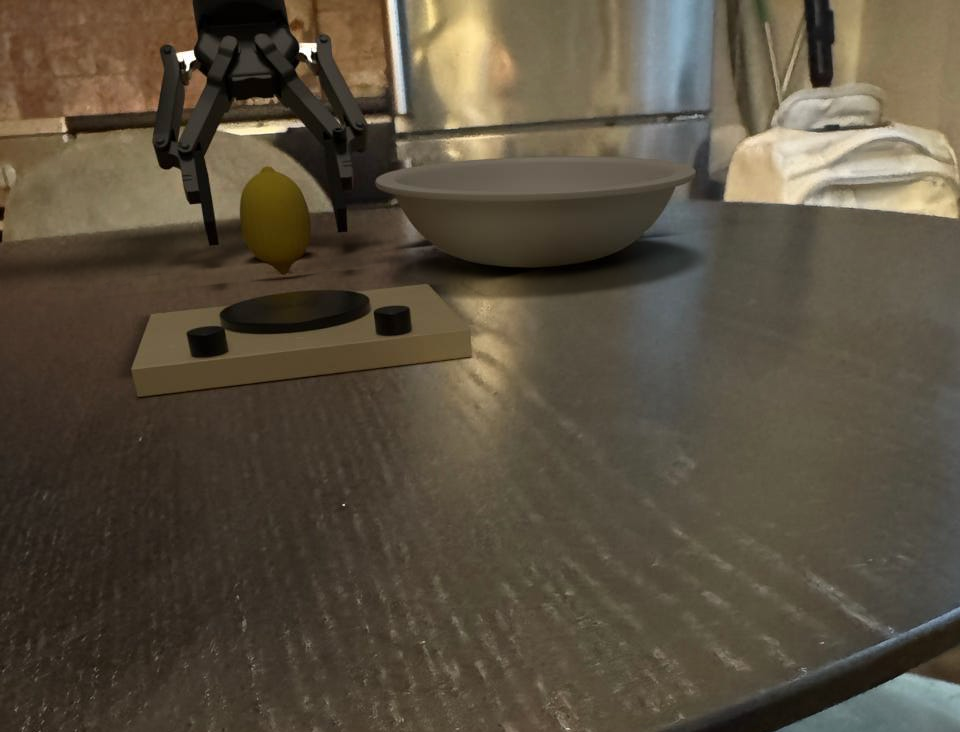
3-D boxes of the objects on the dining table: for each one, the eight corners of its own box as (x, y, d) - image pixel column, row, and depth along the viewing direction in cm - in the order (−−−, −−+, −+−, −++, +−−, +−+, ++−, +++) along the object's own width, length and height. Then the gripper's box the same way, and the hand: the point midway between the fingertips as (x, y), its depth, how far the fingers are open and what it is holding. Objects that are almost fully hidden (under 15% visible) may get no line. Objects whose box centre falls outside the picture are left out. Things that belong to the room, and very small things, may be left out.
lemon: (272, 283, 78) (253, 171, 74) (237, 276, 82) (218, 169, 78) (330, 270, 81) (316, 163, 77) (294, 264, 85) (278, 161, 81)
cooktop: (156, 337, 64) (146, 294, 62) (429, 306, 66) (426, 264, 65) (137, 397, 52) (125, 345, 50) (472, 356, 55) (468, 306, 53)
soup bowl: (687, 299, 66) (695, 191, 62) (342, 296, 70) (332, 195, 67) (690, 237, 86) (697, 153, 82) (422, 238, 90) (418, 158, 87)
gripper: (88, -35, 77) (119, 208, 71) (369, -52, 80) (419, 179, 75) (112, 46, 84) (142, 272, 79) (369, 28, 87) (415, 244, 82)
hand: (277, 227), depth 77 cm, fingers open, 9 cm apart
